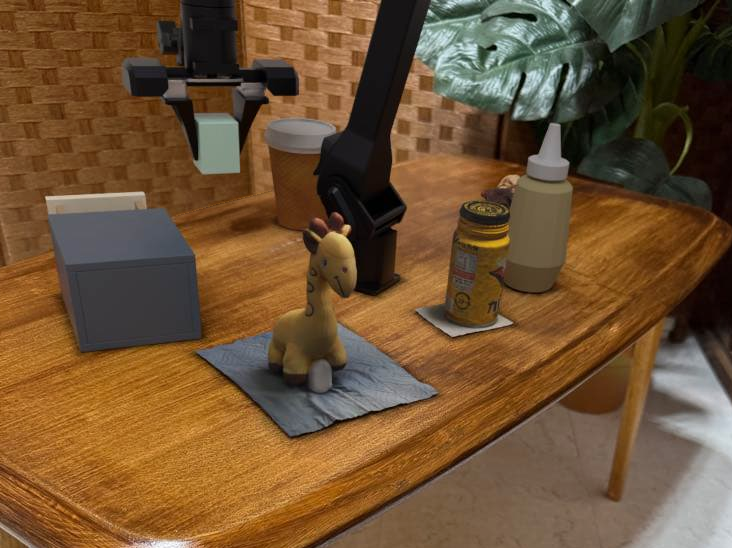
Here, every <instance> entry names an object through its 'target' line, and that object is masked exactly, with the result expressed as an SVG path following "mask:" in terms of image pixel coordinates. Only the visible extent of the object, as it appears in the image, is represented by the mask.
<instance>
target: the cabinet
mask: <svg viewBox="0 0 732 548" xmlns="http://www.w3.org/2000/svg"><path fill="white" fill-rule="evenodd" d="M47 220H48V227H49V232H50V237H51V242H52V248H53V254H54V259H55V264H56V270H57V271H56V272H57V275H58V281H59V287H60V291H61V297H62V300H63V303H64V306H65V309H66V312H67V315H68V318H69V321H70V324H71V327H72V329H73V333H74V336H75V339H76V342H77V346H78V347H79V351H80V353H88V352H89V353H90V352H97V351H104V350H114V349H122V348H123V349H124V348H132V347H140V346H149V345H150V346H151V345H158V344H166V343H175V342H183V341H185V342H186V341H192V340H200V339H202V325H201V311H200V310H201V309H200V297H199V285H198V272H197V271H198V270H197V260H196V254H195V252H194V250H193V249H192V248H191V246H190V244H189V243H188V241H187V240H186V239H185V237H184V235H183V234H182V232H181V230H179V228H178V226H177V225H176V223H175V222H174V221H173V219H172V218H171V216H170V214H169V213H168V211H167V210H166V208H165V207H158V208H157V207H155V208H147V209H138V210H120V211H102V212H85V213H67V214H49V215H48V214H47Z"/></svg>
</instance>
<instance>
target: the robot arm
mask: <svg viewBox="0 0 732 548" xmlns="http://www.w3.org/2000/svg"><path fill="white" fill-rule="evenodd" d="M179 1H180V2H179V3H180V9H179V14H180V15H179V20H180V21H179V22H180V24H179V27H177V23H176V21H174V20H163V19H162V20H161V19H158V20H157V21H156V36H157V43H158V51H159V52H158V53H159V54H160V55H161V56H175V57H176V58H175V59H176V64H177V66H171V67H170V66H166V65H165V64H164V63H162V61H161V60H160V59H159V58H158V57H125V58H124V59H123V61H122V63H121V67H120V68H121V69H120V70H121V78H122V86H123V87H124V88H125V90H126V91H127V92H128V94H129V95H130V96H132V97H136V98H159V99H160V100H161V101H162V103H163V104H164V105H166V106H170V107H171V108H172V110H173V112H174V114H175V116H176V118H177V120H178V122H179V125H180V127H181V130H182V132H183V135H184V138H185V141H186V143H187V146H188V149H189V151H190V154H191V156H192V160H193V159H194V160H195V161H198V140H197V133H196V125H195V117H194V113H195V109H194V102H193V100H192V98H191V97H190V96H189V95H188V93H187V91H188V88H187V87H231V96H232V102H233V103H232V104H233V115H232V117H233V118H234V119H235V120H236V121H237V122H238V129H239V155H240V156H241V155H242V151H243V149H244V146H245V144H246V141H247V139H248V135H249V132H250V130H251V127H252V125H253V123H254V121H255V120H256V117H257V115H258V113H259V111H260V109H261V108H262V106H263V105H269V104H270V98H269V97H268V96H266V91H267V90H268V91H269V92H270V94H271V95H272V96H273V97H297V96H299V95H300V78H299V73H298V71H297V70H296V68H295V67H293V65H290V64H289V63H288V62H287V61H285V60H284V59H281V58H280V59H279V58H277V59H275V58H253V60H252V64H251V67H240V63H239V62H238V50H237V49H238V45H237V43H238V42H237V32H238V31H239V24H238V23H239V22H238V19H237V18H236V17H237V16H236V0H179ZM431 2H432V0H380V3H379V6H378V9H377V14H376V17H375V21H374V25H373V29H372V32H371V36H370V39H369V44H368V47H367V50H366V54H365V58H364V62H363V66H362V69H361V73H360V77H359V80H358V83H357V88H356V92H355V95H354V98H353V102H352V107H351V110H350V115H349V118H348V121H347V124H346V126H345V128H344V129H342V130H340V131H338V132H336V133H335V134H332V135H330V136H327V137H325V138H324V139H323V142H322V145H321V153H320V161H319V163H318V166H317V168H316V169H315V171H314V172H313V175H315V176H316V175H319V176H318V179H317V185H316V190H317V195H318V196H319V197H320V199H321V202H322V204H323V205H324V207H325V211H326V219H327V221H328V220H329V217H330V216H331V214H332V213H334V212H336V213H338V214H339V215H341V216H342V218H343V220H344V221H343V222H344V223H343V224H345V225H350V226H351V232H350V234H349V235H348V236H347V237H346V238H347V239H348V240H349V242H350V243H351V245H352V247H353V250H354V256H355V261H356V270H357V280H356V285H355V288H354V290H355V291H359V292H363V293H365V294H369V295H373V296H374V295H378V294H380V293H381V292H383V291H384V290H385V289H387V288H389V287H391V286H392V285H393V284H395V283H397V282H399V281H400V280H401V274H400V273H396V272H395V271H396V259H397V258H396V257H397V256H396V255H397V244H398V243H397V242H398V230H397V229H394V228H392V227H394V226H396V225H397V224H400V223H402V222H403V219H404V216H405V215H406V212H407V210H408V206H407V204H406V202H405V201H404V199H403V198H402V196H401V194H400V193H399V192H398V191H397V189H396V188H395V187H394V185H393V183H392V182H391V174H392V168H393V159H394V158H393V151H392V150H393V149H392V142H391V135H392V130H393V126H394V123H395V120H396V117H397V114H398V110H399V107H400V104H401V100H402V97H403V93H404V91H405V88H406V84H407V81H408V77H409V74H410V71H411V68H412V65H413V62H414V58H415V55H416V53H417V48H418V45H419V41H420V39H421V35H422V32H423V29H424V26H425V22H426V19H427V15H428V12H429V9H430V6H431Z"/></svg>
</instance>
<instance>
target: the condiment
mask: <svg viewBox="0 0 732 548" xmlns="http://www.w3.org/2000/svg"><path fill="white" fill-rule="evenodd" d="M509 219H510V211H509V210H508V209H507V208H506V207H505V206H503V205H501V204H498V203H494V202H487V201H485V200H469V201H466V202H463V204H462V205H461V206H460V209H459V217H458V220H457V227H456V229H455V230H454V231H453V234H452V239H451V241H452V242H451V248H450V249H451V250H450V257H449V267H448V273H447V274H448V275H447V284H446V293H445V301H444V303H440V304H439V303H438V304H436V305H431V306H427V307H425V306H424V307H422V306H421V307H418V308H414V311H416V312H417V313H418V315H420V316H421V317H422V318H424V319H425V320H426V321H428V322H429V323H431V324H432V325H433V326H434V327H435V328H437V329H439V330H441V332H443V333H445V334H447V335H449V336H450V337H451V338H454V337H458V336H464V335H466V334H471V333H475V332H482V331H483V332H484V331H489V330H492V329H497V328H502V327H506V326H507V327H508V326H511V325H513V324H514V322H513V321H512V320H510V319H507V318H506V317H505V316H502V315H501V314H499V313H500V307H501V303H502V302H501V301H502V297H503V295H502V293H503V288H504V283H505V282H504V276H505V269H506V262H507V256H508V252H509V244H510V238H509V236H508V234H507V232H508V230H509V227H508V225H509Z"/></svg>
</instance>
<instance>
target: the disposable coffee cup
mask: <svg viewBox="0 0 732 548" xmlns="http://www.w3.org/2000/svg"><path fill="white" fill-rule="evenodd" d="M335 133H337V128H336V126H335V125H333V124H331V123H330V122H326V121H324V120H320V119H319V120H318V119H315V118H305V117H283V118H277V119H273V120H271V121H269V122H268V123H267V125H266V130H265V132H264V134H263V138H264V140H265V142H266V145H267V147H268V155H269V162H270V163H269V164H270V170H271V179H272V185H273V193H274V199H275V207H276V208H275V209H276V215H277V223H278V224H279V225H280V226H282V227H284V228H287V229H290V230H295V231H303V230H304V229H309V223H310V221H311V220H312V219H314V218H319V219H321V220H323V221H324V223H325V224H326V219H327V214H326V211H325V207H324V205H323V204H322V202H321V199H320V197H319V196H318V195H317V190H316V185H317V179H318V176H319V175H316V176H315V175H313V172H314V171H315V169H316V168H317V166H318V163H319V161H320V153H321V145H322V142H323V139H324V138H325V137H327V136H330V135H332V134H335Z"/></svg>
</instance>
